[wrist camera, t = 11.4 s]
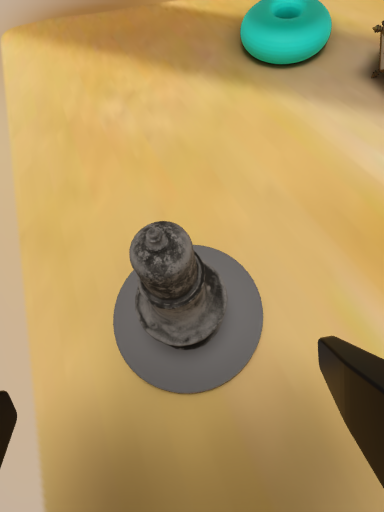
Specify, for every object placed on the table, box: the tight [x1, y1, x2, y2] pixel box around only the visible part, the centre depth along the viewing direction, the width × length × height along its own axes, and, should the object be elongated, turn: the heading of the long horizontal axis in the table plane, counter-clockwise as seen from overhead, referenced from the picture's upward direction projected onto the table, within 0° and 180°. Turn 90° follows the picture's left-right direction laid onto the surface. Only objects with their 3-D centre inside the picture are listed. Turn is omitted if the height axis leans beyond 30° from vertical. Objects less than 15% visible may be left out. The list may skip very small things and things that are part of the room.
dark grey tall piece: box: [130, 221, 228, 350], centre depth 17 cm, size 6×6×12 cm
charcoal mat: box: [113, 245, 263, 393], centre depth 23 cm, size 11×11×1 cm
